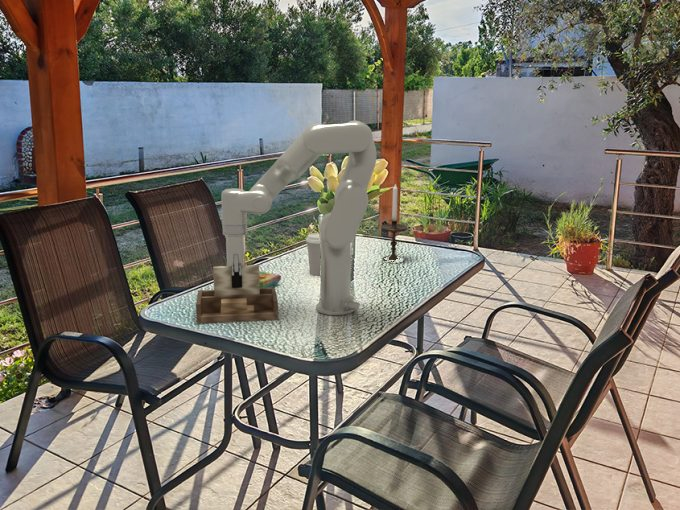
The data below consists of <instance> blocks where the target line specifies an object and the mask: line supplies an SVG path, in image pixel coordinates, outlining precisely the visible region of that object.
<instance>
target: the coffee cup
mask: <svg viewBox="0 0 680 510" xmlns="http://www.w3.org/2000/svg"><path fill="white" fill-rule="evenodd" d="M319 233H320V232H315V233H309V234H308V235H307V237H306V238H305V242H306V245H307V255H308V266H309V275H312V276H314V275H315V277H317V276H318V277H321V276H320V240H319V238H320V237H319Z"/></svg>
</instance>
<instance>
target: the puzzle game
mask: <svg viewBox="0 0 680 510" xmlns="http://www.w3.org/2000/svg"><path fill="white" fill-rule="evenodd" d="M281 279H282V275H279V274H277V273H275V274H274V273H271V272H270V273H269V272H265V271H260V270H259V288H267V287H275V286H277V285H278V284H279V283H280V281H281Z"/></svg>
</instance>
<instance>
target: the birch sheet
mask: <svg viewBox="0 0 680 510" xmlns="http://www.w3.org/2000/svg"><path fill="white" fill-rule="evenodd" d="M212 269H213V272H212V273H213V290H214V296H232V295H256V294H260V289H259V271H260V265H259V264H255V265H254V264H252V265H251V264H250V265H249V264H247V265H243V266H242V267H241V275H242V288H232V278H231V275H232V266H231V267H229V268H228V267H227V265H225V266H224V265H221V266H213V267H212ZM238 269H239V268H238Z"/></svg>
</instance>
